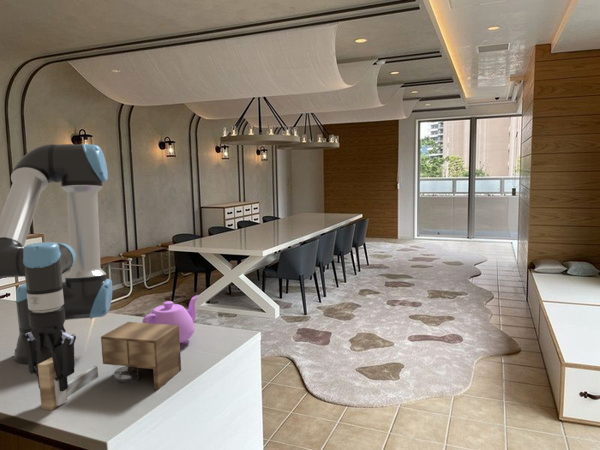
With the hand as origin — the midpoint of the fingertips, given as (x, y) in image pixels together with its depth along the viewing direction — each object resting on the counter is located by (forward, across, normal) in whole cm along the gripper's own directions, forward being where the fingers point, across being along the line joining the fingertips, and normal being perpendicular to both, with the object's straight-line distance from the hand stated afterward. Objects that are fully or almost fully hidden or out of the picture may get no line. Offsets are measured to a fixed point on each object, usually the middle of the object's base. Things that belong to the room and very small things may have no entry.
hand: (54, 401), depth 113 cm
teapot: (+1, +8, +43) cm, 44 cm away
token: (+1, +9, +16) cm, 18 cm away
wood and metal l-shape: (+1, 0, +6) cm, 7 cm away
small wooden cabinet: (+1, +13, +18) cm, 22 cm away
